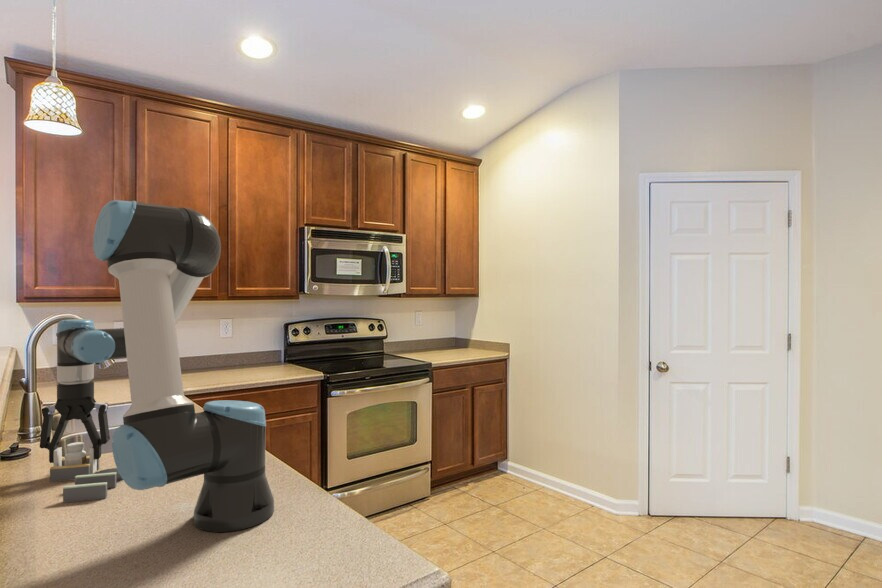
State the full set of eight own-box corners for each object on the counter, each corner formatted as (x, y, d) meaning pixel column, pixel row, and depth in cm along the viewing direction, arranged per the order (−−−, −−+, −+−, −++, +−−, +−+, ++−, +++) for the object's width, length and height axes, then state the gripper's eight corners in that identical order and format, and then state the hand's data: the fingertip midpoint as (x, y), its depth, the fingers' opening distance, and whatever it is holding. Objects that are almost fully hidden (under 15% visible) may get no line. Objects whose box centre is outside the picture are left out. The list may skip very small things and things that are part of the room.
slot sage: (105, 498, 112) (105, 483, 112) (63, 502, 110) (63, 487, 110) (116, 486, 119) (116, 472, 119) (76, 489, 117) (76, 475, 117)
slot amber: (88, 478, 124) (88, 465, 124) (49, 481, 122) (49, 468, 122) (99, 468, 131) (99, 455, 131) (62, 471, 129) (62, 458, 129)
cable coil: (121, 483, 121) (121, 476, 121) (87, 486, 119) (87, 479, 119) (129, 473, 128) (129, 466, 128) (97, 476, 126) (97, 469, 126)
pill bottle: (88, 474, 127) (88, 443, 127) (66, 479, 124) (66, 447, 124) (83, 470, 130) (83, 440, 130) (62, 475, 127) (62, 444, 127)
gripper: (125, 377, 133) (125, 465, 133) (35, 380, 127) (35, 472, 128) (116, 382, 126) (116, 475, 126) (20, 386, 120) (20, 483, 120)
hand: (75, 473), depth 127 cm, fingers open, 7 cm apart
